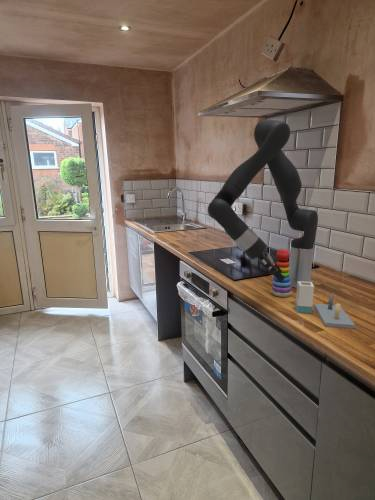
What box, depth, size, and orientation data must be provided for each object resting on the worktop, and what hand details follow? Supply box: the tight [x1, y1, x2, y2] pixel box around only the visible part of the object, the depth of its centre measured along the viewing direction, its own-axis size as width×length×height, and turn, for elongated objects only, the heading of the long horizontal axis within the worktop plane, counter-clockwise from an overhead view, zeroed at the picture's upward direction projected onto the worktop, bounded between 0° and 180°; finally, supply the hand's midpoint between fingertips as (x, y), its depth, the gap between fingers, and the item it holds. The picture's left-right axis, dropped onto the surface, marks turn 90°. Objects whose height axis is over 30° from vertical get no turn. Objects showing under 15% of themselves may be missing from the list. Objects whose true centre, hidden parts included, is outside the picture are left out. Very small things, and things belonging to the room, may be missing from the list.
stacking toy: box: [270, 248, 292, 298], centre depth 129 cm, size 8×8×19 cm
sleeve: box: [294, 281, 315, 314], centre depth 115 cm, size 5×5×10 cm
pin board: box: [313, 294, 356, 329], centre depth 110 cm, size 16×9×6 cm, turn 171°
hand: (281, 276), depth 114 cm, fingers open, 8 cm apart
